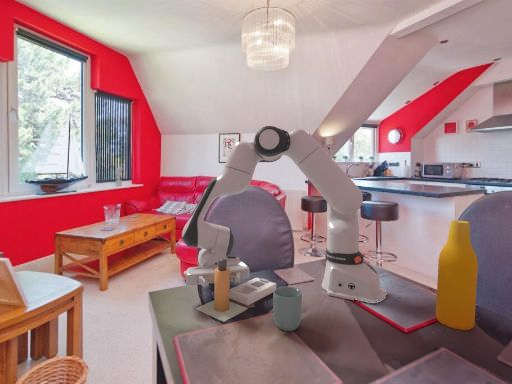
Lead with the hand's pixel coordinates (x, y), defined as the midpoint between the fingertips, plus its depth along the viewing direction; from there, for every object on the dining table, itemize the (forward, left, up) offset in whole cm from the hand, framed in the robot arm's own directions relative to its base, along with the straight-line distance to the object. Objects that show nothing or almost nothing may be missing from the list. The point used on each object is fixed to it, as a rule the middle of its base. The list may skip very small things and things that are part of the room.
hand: (222, 282), depth 88 cm
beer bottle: (-54, -39, -10) cm, 68 cm away
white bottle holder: (+1, -15, -10) cm, 18 cm away
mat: (+1, 0, -10) cm, 10 cm away
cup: (-19, -6, -10) cm, 22 cm away
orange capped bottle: (+1, 0, -8) cm, 8 cm away
